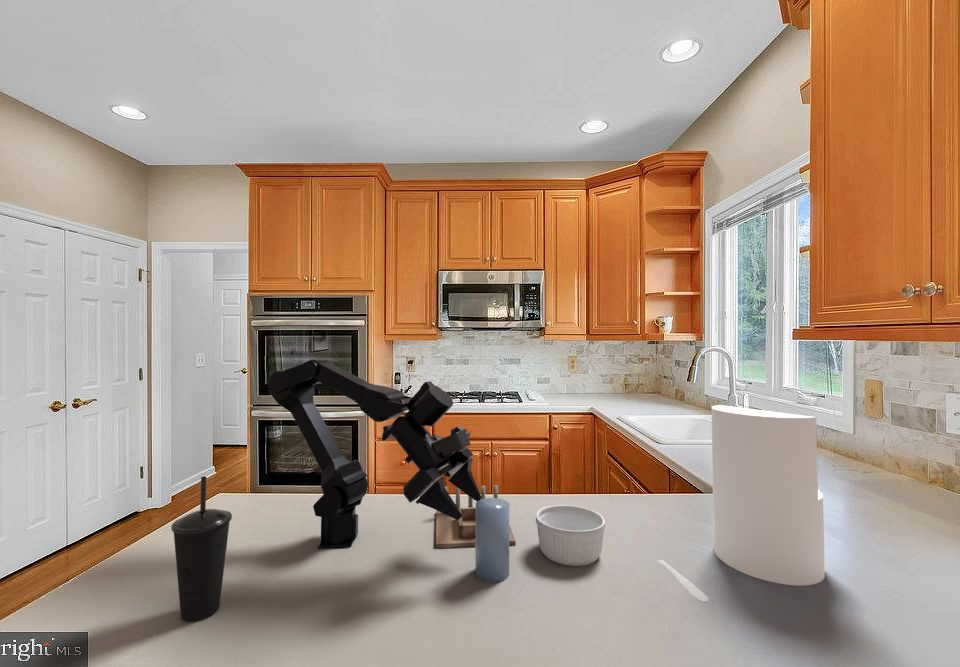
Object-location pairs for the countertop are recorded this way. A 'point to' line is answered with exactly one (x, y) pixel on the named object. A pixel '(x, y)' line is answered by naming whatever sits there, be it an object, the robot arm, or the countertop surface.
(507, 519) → the pale blue pillar candle
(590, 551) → the ramekin
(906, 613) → the countertop surface
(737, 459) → the cylinder
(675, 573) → the butter knife
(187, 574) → the drinking cup
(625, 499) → the countertop surface
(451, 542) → the drying rack
